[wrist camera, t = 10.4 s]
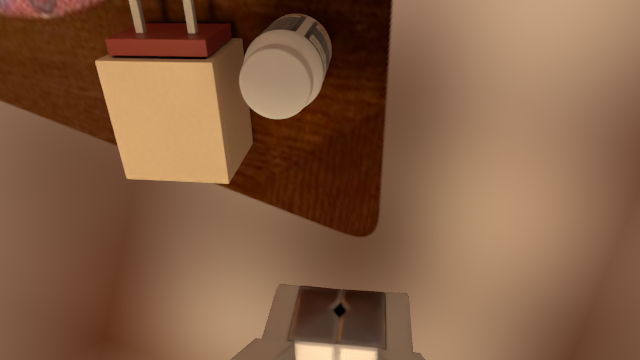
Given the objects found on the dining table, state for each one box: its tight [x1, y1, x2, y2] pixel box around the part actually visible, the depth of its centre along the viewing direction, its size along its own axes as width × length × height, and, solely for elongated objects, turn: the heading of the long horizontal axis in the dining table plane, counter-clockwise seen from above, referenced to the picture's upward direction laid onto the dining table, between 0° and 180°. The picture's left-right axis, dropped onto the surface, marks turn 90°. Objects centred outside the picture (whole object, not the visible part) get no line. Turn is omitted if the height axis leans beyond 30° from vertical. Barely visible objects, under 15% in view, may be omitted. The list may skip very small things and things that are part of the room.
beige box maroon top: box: [95, 38, 253, 184], centre depth 36 cm, size 10×9×8 cm
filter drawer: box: [105, 0, 232, 60], centre depth 34 cm, size 13×7×6 cm, turn 1°
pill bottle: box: [239, 14, 332, 119], centre depth 32 cm, size 6×6×10 cm
